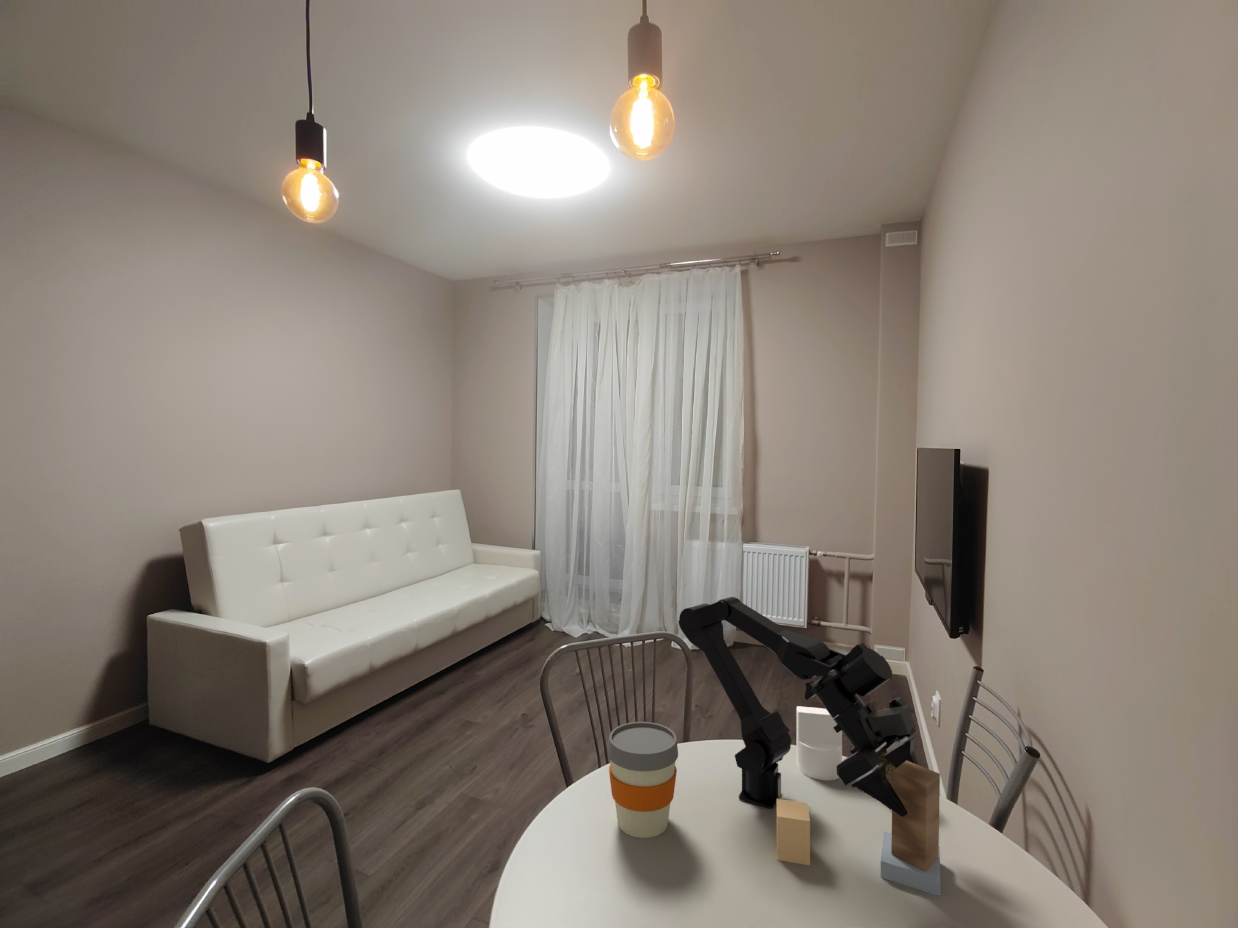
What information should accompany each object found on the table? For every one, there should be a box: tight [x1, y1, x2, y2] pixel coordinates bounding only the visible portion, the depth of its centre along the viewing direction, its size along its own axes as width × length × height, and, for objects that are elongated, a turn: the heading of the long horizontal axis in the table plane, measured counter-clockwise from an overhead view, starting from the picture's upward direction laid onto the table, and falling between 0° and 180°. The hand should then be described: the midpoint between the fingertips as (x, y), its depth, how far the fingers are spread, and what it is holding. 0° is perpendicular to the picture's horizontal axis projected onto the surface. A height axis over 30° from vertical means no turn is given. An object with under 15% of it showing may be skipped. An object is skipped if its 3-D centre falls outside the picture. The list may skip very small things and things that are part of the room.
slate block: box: [880, 831, 941, 897], centre depth 89 cm, size 8×8×3 cm
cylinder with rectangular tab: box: [796, 705, 843, 781], centre depth 118 cm, size 9×9×12 cm
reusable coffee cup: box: [607, 721, 679, 839], centre depth 101 cm, size 12×13×15 cm
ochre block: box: [776, 798, 811, 866], centre depth 93 cm, size 5×5×7 cm
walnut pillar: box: [891, 760, 941, 872], centre depth 88 cm, size 5×5×13 cm
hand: (916, 802), depth 88 cm, fingers open, 9 cm apart
